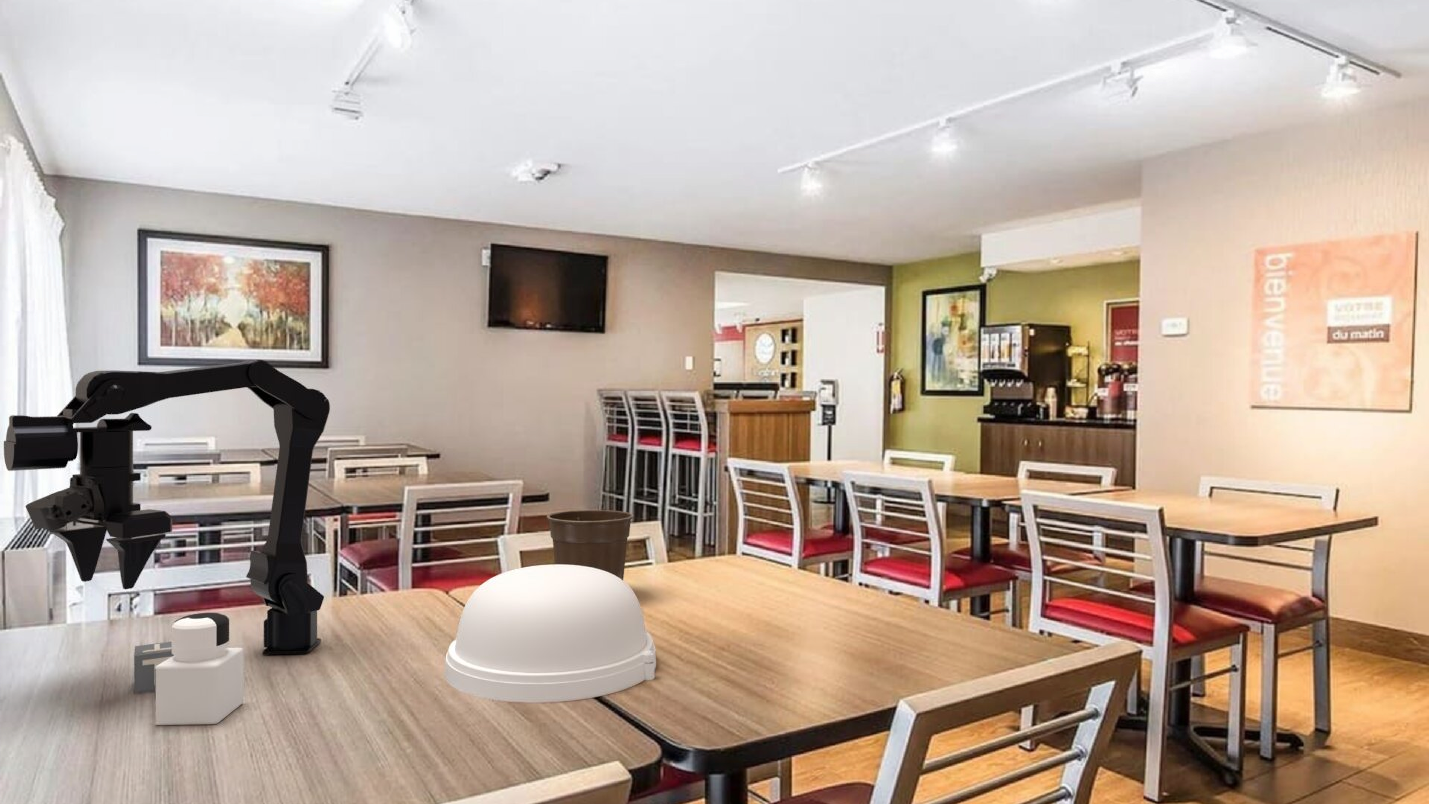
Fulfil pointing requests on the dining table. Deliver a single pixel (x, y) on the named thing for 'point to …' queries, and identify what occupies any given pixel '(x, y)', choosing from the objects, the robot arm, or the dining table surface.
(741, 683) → the dining table surface
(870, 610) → the dining table surface
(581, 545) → the plant pot
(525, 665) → the dome cover
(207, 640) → the medicine bottle
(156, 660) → the lettered cube
